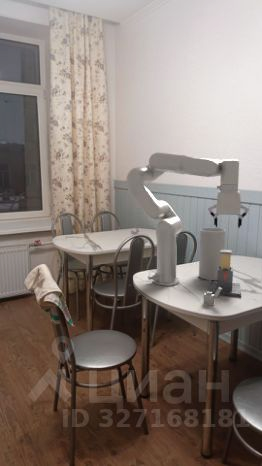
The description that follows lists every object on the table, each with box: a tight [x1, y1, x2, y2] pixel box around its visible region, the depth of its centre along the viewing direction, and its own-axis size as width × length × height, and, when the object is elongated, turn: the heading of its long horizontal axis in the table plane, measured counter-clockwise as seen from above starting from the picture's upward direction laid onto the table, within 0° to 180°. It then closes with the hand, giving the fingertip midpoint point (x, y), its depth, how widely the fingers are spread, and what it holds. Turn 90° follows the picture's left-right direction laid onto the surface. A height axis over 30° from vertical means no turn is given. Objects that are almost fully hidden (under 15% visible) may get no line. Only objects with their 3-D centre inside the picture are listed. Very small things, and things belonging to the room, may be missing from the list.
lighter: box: [202, 287, 222, 307], centre depth 138 cm, size 7×2×8 cm, turn 61°
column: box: [220, 249, 233, 270], centre depth 153 cm, size 5×5×17 cm
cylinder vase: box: [198, 227, 227, 281], centre depth 172 cm, size 12×12×25 cm
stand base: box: [207, 266, 242, 298], centre depth 154 cm, size 14×14×11 cm
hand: (227, 227), depth 149 cm, fingers open, 9 cm apart
